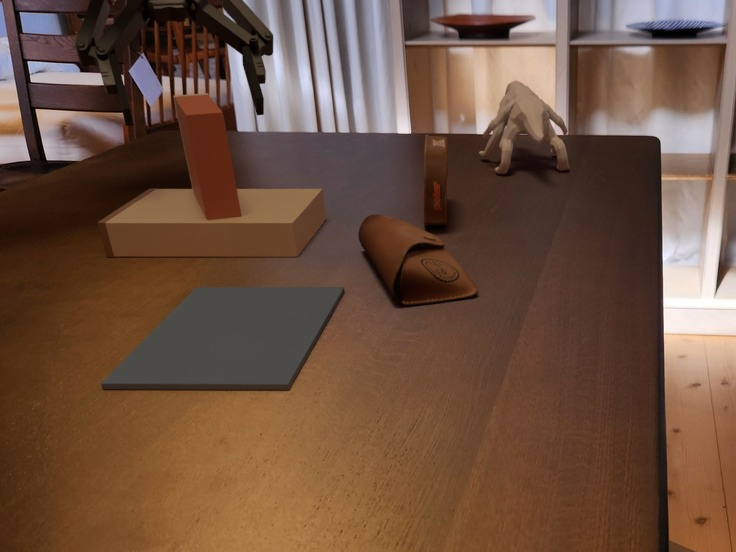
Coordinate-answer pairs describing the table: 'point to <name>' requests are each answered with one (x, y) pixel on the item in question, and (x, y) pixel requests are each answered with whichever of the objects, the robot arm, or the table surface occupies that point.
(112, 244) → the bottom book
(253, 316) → the mat
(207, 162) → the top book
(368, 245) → the sunglasses case
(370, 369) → the table surface
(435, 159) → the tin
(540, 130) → the beige creature figurine
